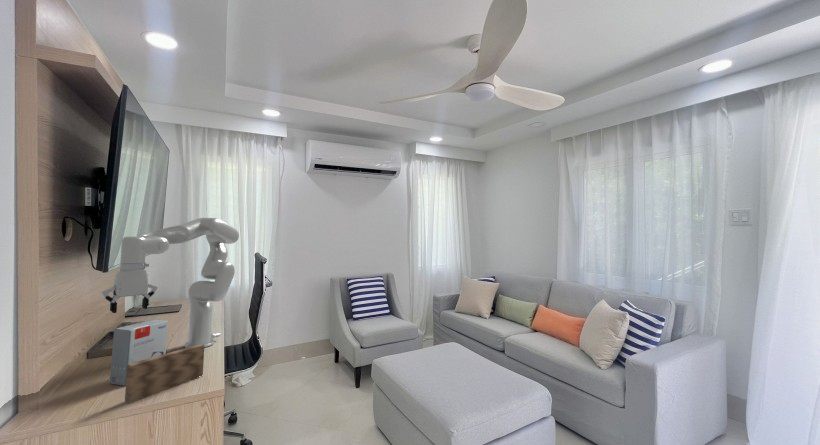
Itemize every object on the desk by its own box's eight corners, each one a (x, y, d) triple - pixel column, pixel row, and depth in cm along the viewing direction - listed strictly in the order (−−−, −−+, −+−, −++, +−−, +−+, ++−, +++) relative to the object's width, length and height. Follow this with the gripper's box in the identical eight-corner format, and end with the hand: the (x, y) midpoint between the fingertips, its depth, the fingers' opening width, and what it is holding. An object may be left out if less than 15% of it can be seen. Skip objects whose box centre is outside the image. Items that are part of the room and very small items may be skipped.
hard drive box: (125, 386, 117) (129, 330, 118) (108, 384, 119) (112, 328, 120) (165, 369, 132) (168, 320, 133) (150, 367, 134) (153, 318, 135)
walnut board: (198, 374, 129) (200, 343, 129) (202, 376, 128) (204, 344, 128) (124, 401, 107) (127, 364, 108) (128, 403, 106) (131, 365, 106)
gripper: (154, 265, 140) (152, 305, 139) (100, 268, 125) (97, 312, 125) (161, 266, 136) (159, 308, 135) (107, 269, 121) (103, 316, 121)
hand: (129, 310), depth 130 cm, fingers open, 9 cm apart
